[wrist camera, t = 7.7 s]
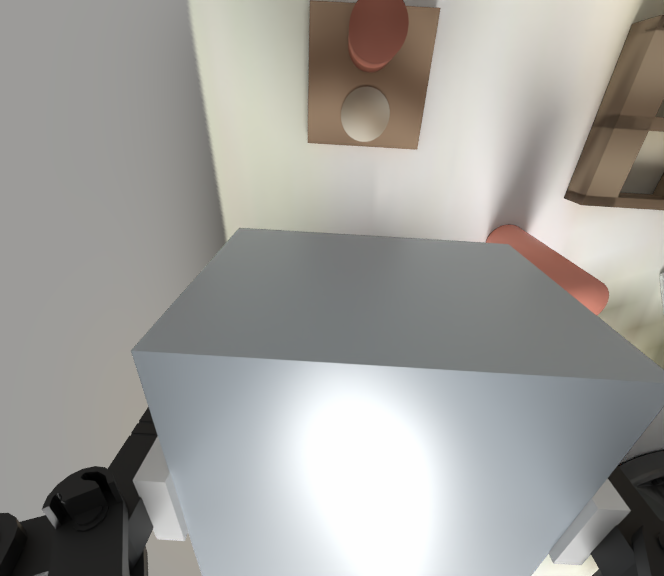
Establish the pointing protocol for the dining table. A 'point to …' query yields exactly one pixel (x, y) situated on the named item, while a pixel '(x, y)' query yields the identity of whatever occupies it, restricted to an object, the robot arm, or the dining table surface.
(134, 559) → the robot arm
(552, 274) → the peg
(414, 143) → the board
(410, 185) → the dining table surface
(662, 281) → the supplement box
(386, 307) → the cover
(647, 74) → the board
